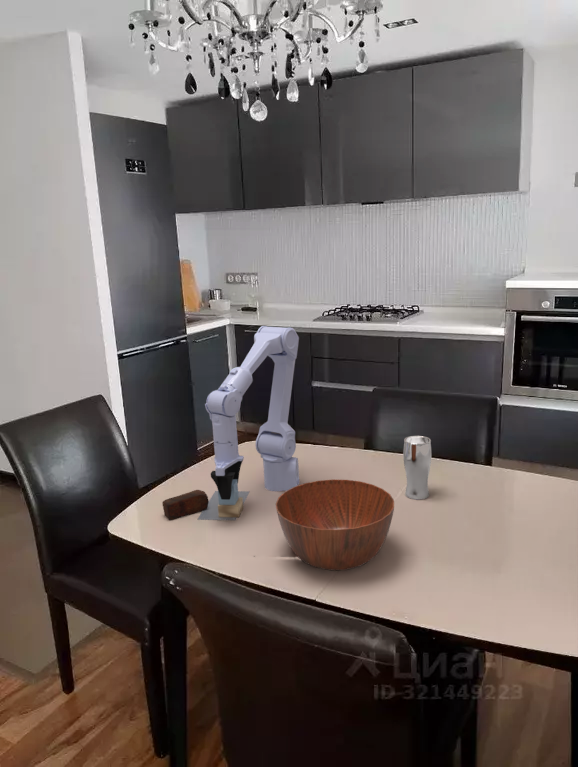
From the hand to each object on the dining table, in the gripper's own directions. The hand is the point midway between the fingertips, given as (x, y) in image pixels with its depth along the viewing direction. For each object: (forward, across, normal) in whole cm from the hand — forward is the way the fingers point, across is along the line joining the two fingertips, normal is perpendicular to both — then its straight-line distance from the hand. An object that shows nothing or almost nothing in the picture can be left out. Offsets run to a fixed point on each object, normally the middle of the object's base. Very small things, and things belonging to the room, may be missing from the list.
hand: (229, 492), depth 147 cm
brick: (+6, 0, +11) cm, 13 cm away
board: (+6, +4, +3) cm, 8 cm away
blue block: (+2, 0, 0) cm, 2 cm away
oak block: (+5, 0, 0) cm, 5 cm away
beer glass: (+6, +14, -46) cm, 49 cm away
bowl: (+6, -16, -27) cm, 32 cm away
